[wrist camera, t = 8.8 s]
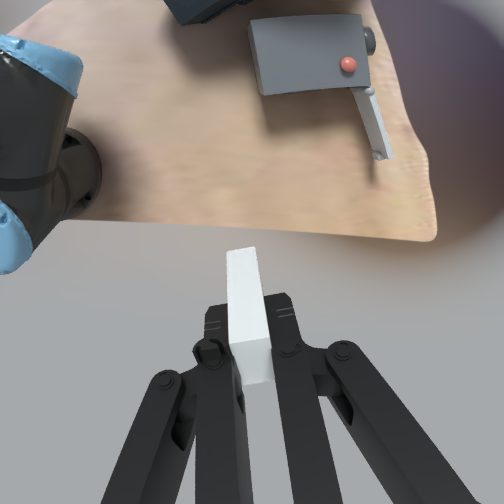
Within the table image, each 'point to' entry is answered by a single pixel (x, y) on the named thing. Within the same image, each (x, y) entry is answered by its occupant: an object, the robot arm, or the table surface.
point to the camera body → (310, 52)
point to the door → (372, 122)
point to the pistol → (200, 9)
